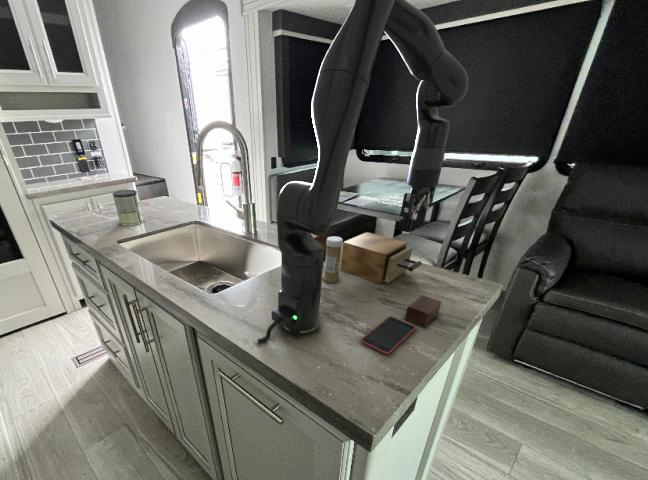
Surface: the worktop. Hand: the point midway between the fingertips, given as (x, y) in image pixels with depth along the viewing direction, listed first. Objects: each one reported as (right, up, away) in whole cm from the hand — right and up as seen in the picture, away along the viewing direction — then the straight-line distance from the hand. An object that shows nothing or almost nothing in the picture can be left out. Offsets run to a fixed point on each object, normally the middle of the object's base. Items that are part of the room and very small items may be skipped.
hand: (412, 227), depth 91 cm
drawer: (-4, -12, +12) cm, 17 cm away
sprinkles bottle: (-21, -14, +10) cm, 27 cm away
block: (-2, -25, -9) cm, 27 cm away
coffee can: (-107, +16, +63) cm, 125 cm away
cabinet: (-7, -11, +16) cm, 20 cm away
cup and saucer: (-21, -4, +27) cm, 34 cm away
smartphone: (-12, -29, -16) cm, 35 cm away
